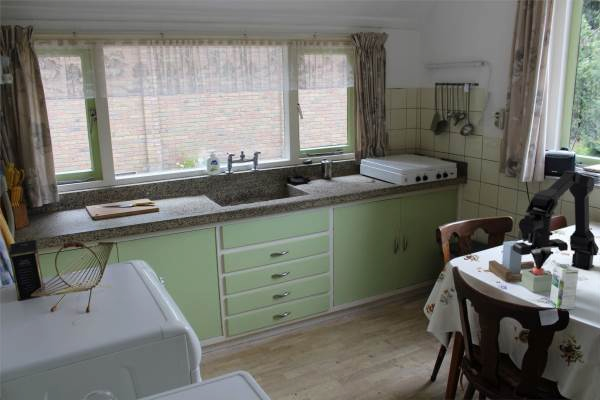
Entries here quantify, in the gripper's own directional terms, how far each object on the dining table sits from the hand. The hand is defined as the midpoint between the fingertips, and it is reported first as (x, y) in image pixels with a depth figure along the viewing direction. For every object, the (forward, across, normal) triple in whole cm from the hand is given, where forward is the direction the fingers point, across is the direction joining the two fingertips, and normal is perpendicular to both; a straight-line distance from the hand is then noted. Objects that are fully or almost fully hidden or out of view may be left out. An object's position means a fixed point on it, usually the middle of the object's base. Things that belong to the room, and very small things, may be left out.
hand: (538, 268), depth 189 cm
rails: (+8, -3, -14) cm, 16 cm away
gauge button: (+3, 0, 0) cm, 3 cm away
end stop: (+8, +7, -14) cm, 17 cm away
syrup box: (+8, +1, +16) cm, 18 cm away
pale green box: (+8, 0, 0) cm, 8 cm away
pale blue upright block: (+8, +2, -14) cm, 16 cm away
